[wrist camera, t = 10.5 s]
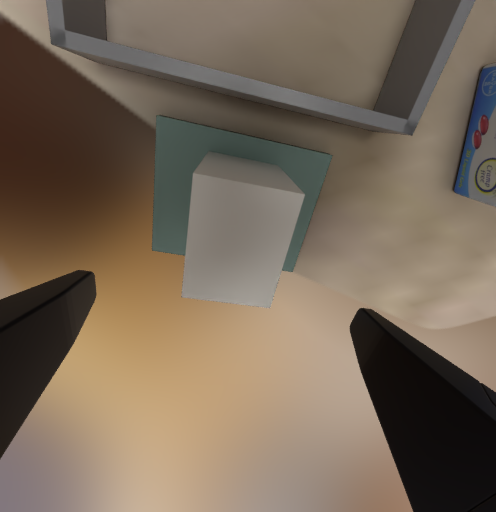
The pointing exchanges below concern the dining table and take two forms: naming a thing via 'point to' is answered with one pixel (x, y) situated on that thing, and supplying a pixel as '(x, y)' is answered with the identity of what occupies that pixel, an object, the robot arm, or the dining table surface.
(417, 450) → the robot arm
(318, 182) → the mat
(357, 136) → the dining table surface
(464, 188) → the medicine box
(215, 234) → the block
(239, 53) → the dining table surface
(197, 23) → the dining table surface
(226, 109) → the dining table surface
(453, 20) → the grey tray
